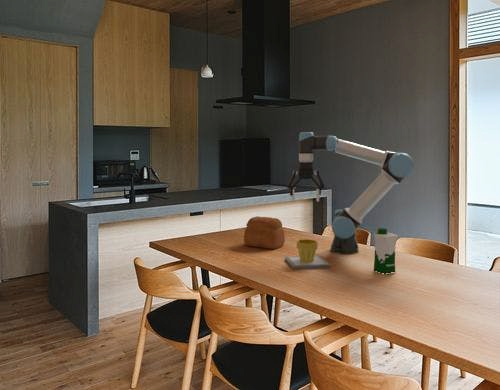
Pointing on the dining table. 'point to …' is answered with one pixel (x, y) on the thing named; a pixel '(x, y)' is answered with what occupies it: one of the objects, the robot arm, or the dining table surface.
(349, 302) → the dining table surface
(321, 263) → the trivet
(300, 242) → the plant pot
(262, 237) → the bread
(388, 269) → the milk carton
